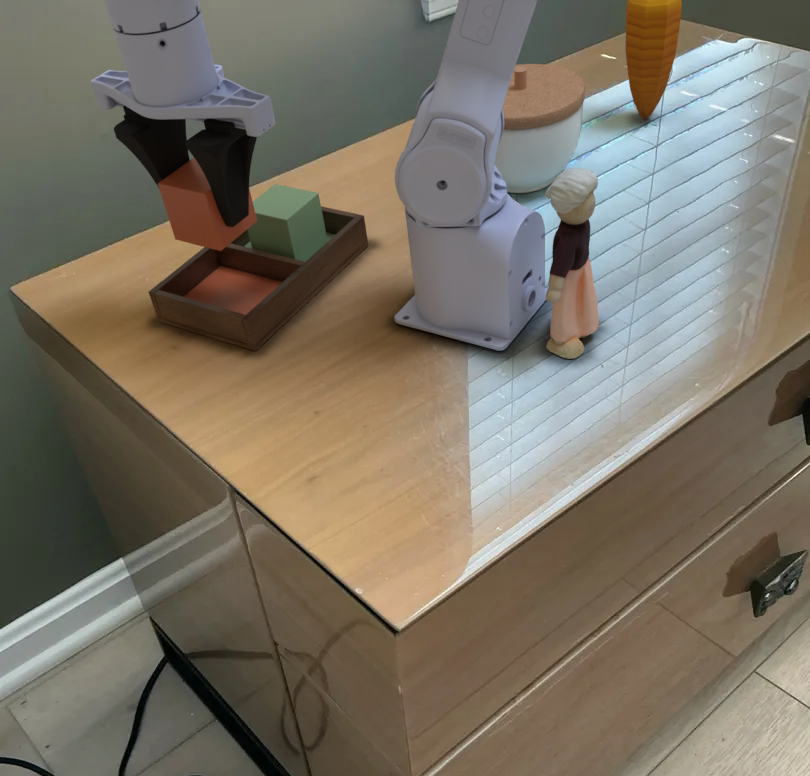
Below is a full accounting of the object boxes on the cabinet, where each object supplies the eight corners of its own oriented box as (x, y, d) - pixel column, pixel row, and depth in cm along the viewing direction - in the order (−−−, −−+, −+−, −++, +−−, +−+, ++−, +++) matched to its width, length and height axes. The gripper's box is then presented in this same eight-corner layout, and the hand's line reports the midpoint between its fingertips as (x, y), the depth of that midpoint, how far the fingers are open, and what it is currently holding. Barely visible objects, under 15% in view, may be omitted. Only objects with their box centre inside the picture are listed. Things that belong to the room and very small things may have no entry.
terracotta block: (257, 221, 72) (243, 164, 69) (220, 251, 69) (204, 194, 66) (212, 210, 74) (196, 154, 70) (175, 239, 71) (157, 183, 68)
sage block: (328, 242, 80) (318, 192, 77) (297, 270, 78) (286, 219, 75) (285, 232, 82) (274, 183, 79) (254, 259, 80) (241, 209, 76)
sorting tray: (368, 245, 81) (364, 215, 79) (255, 351, 72) (247, 320, 70) (275, 223, 85) (269, 194, 83) (158, 321, 76) (147, 291, 74)
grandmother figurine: (594, 368, 66) (602, 199, 57) (539, 366, 67) (538, 199, 58) (601, 305, 71) (610, 140, 62) (550, 304, 72) (551, 140, 63)
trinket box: (523, 219, 81) (521, 109, 74) (439, 182, 87) (429, 76, 80) (607, 170, 85) (613, 61, 78) (521, 137, 91) (519, 34, 84)
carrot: (609, 114, 92) (618, -61, 81) (656, 102, 93) (671, -73, 82) (633, 135, 89) (645, -45, 78) (681, 122, 89) (700, -58, 78)
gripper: (283, 4, 60) (321, 204, 70) (117, -14, 66) (173, 173, 76) (213, 48, 56) (263, 253, 66) (43, 24, 62) (113, 216, 72)
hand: (211, 214), depth 71 cm, fingers closed on terracotta block, 4 cm apart
